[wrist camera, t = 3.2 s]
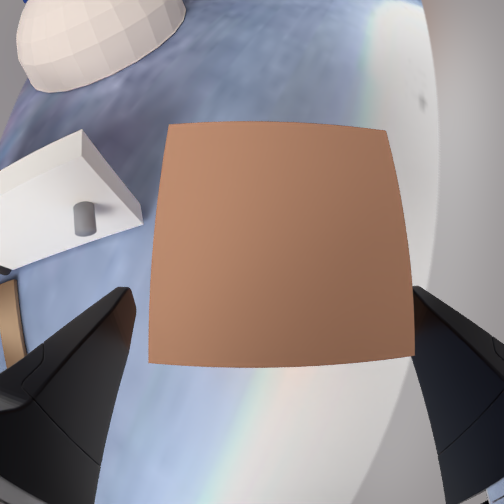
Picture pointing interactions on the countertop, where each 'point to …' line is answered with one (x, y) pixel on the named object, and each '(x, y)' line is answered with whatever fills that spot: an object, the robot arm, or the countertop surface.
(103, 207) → the door
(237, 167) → the tan square pedestal
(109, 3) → the kettle
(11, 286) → the door frame
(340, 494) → the countertop surface
